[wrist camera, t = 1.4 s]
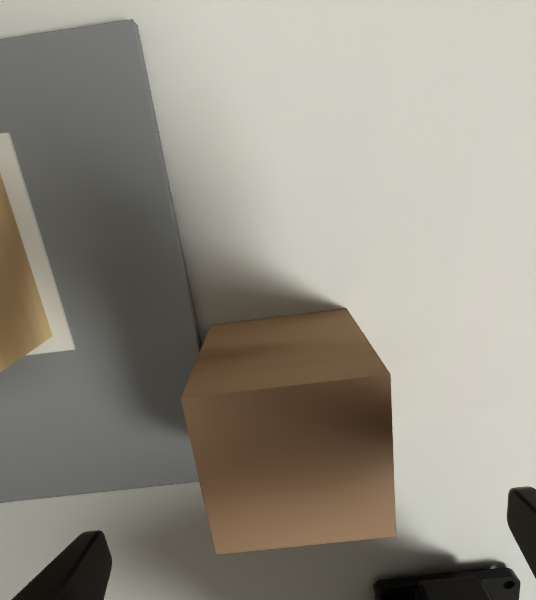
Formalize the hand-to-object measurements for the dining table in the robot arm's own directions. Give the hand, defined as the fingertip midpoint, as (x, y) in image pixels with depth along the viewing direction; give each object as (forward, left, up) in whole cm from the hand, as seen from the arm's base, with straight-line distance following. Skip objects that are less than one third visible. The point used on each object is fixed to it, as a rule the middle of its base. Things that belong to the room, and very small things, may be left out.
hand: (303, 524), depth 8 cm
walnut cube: (0, 0, -6) cm, 6 cm away
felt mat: (+4, +9, -6) cm, 12 cm away
